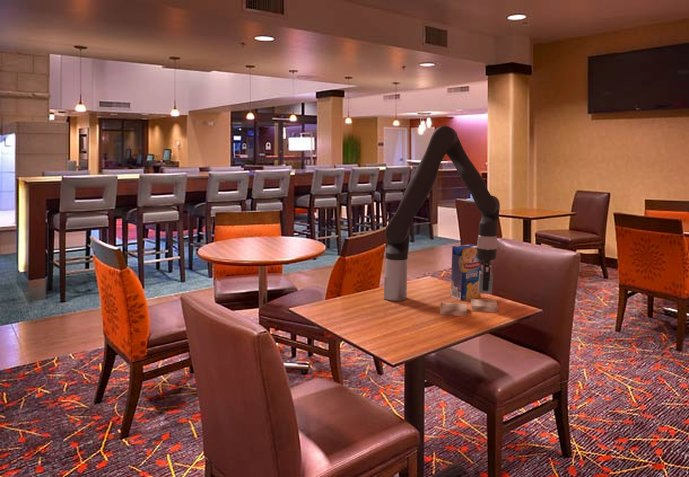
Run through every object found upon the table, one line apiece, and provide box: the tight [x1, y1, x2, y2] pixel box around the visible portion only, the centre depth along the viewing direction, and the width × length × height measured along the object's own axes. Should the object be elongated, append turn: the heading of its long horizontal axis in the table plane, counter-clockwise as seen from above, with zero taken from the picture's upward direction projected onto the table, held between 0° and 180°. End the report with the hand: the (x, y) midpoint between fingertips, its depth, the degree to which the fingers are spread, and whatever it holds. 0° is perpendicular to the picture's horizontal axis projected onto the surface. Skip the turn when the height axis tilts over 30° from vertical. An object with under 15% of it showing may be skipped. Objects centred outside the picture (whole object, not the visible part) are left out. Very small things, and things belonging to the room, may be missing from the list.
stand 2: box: [470, 298, 499, 313], centre depth 219 cm, size 10×10×2 cm
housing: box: [478, 270, 494, 295], centre depth 218 cm, size 5×5×8 cm
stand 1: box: [439, 301, 468, 317], centre depth 214 cm, size 10×10×2 cm
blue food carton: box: [449, 243, 482, 301], centre depth 233 cm, size 7×11×22 cm, turn 121°
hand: (485, 288), depth 218 cm, fingers closed on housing, 5 cm apart
